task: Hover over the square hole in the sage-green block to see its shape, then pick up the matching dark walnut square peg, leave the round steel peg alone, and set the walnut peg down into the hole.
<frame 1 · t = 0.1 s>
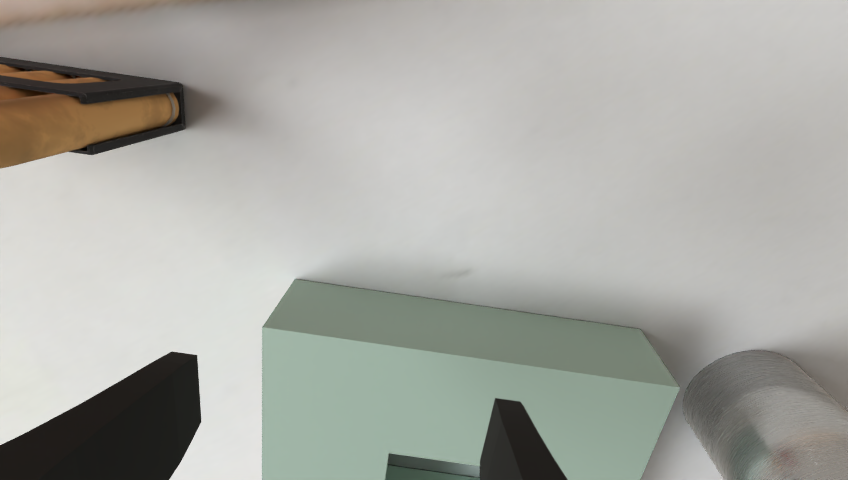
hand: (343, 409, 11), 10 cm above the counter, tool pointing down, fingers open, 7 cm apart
steel peg: (743, 398, 23), on the counter
ammunition clip: (57, 88, 19), on the counter
socket block: (441, 435, 24), on the counter
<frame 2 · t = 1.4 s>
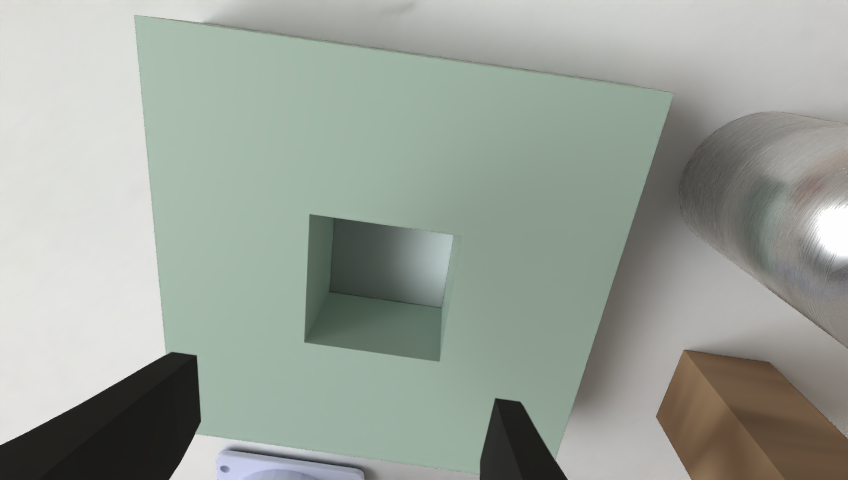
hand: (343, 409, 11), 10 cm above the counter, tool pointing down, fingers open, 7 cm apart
steel peg: (752, 184, 19), on the counter
walnut peg: (710, 390, 22), on the counter
socket block: (391, 248, 20), on the counter
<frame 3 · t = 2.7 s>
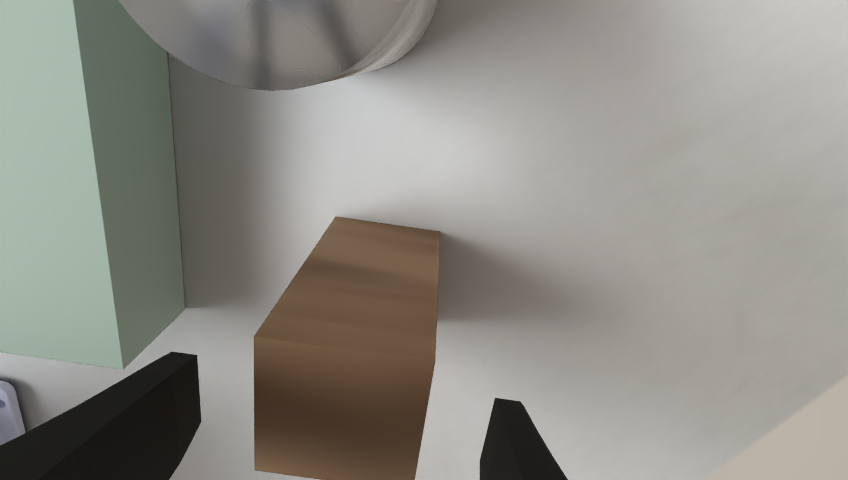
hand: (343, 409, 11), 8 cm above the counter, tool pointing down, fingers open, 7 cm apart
walnut peg: (382, 271, 18), on the counter
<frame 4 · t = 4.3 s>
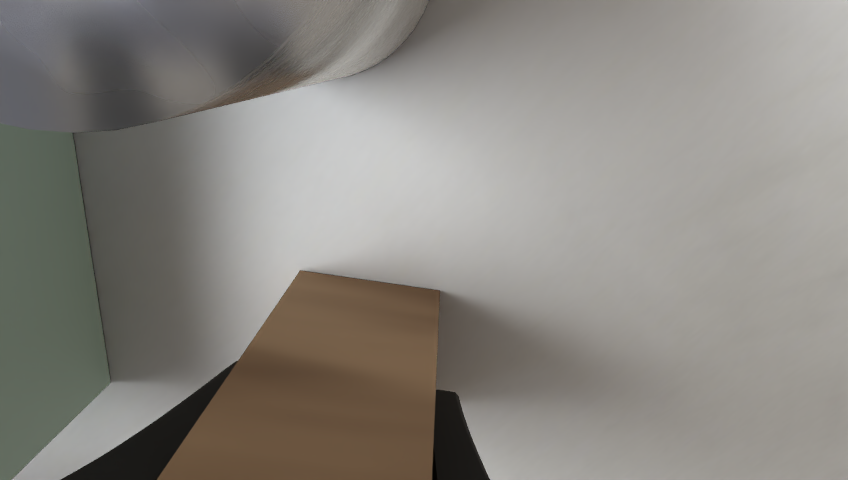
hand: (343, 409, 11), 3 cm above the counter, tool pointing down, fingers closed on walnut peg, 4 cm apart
walnut peg: (364, 339, 14), on the counter, touching gripper
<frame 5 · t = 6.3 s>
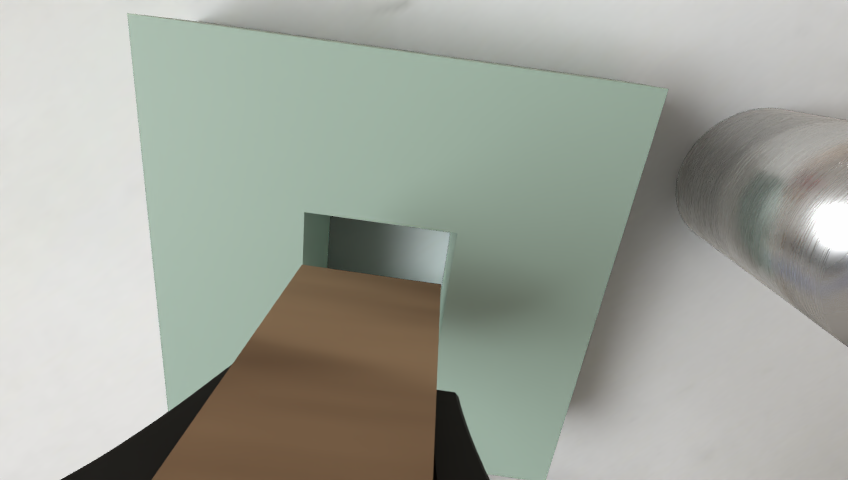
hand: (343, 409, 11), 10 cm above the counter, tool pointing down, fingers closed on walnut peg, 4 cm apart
steel peg: (749, 180, 19), on the counter
walnut peg: (365, 333, 14), point 7 cm above the counter, touching gripper
socket block: (387, 246, 20), on the counter
when the fingers open (5 cm above the counter, at t = 8.5 s): walnut peg drops 2 cm, resting in socket block.
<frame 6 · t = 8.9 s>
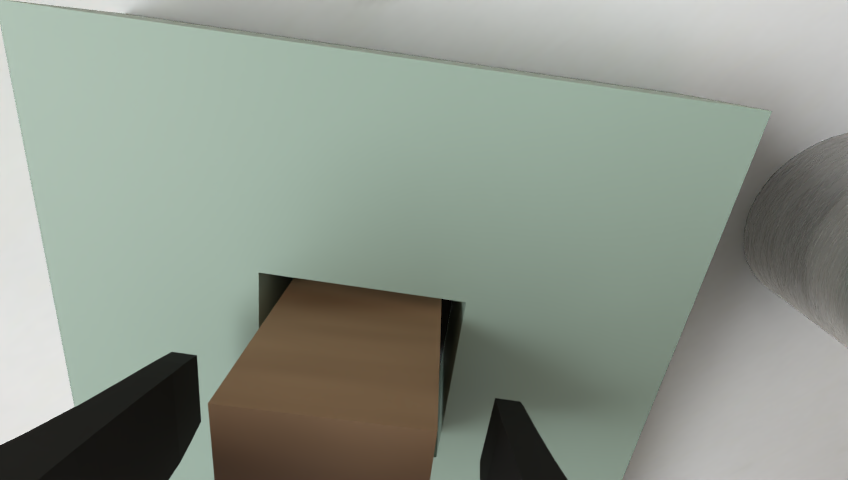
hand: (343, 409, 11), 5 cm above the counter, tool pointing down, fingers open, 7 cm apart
steel peg: (840, 222, 14), on the counter
walnut peg: (378, 294, 16), resting in socket block
socket block: (376, 299, 16), on the counter
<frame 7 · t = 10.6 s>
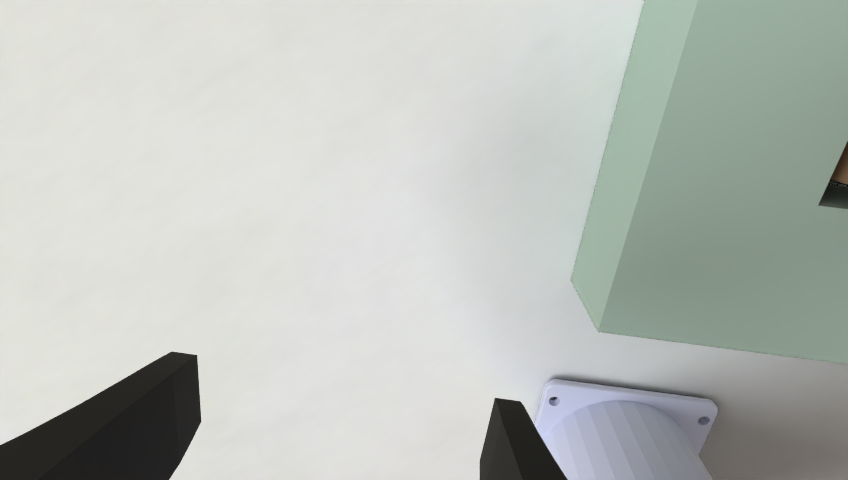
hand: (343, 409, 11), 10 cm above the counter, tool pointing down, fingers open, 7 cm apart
walnut peg: (843, 109, 17), resting in socket block
socket block: (840, 113, 17), on the counter
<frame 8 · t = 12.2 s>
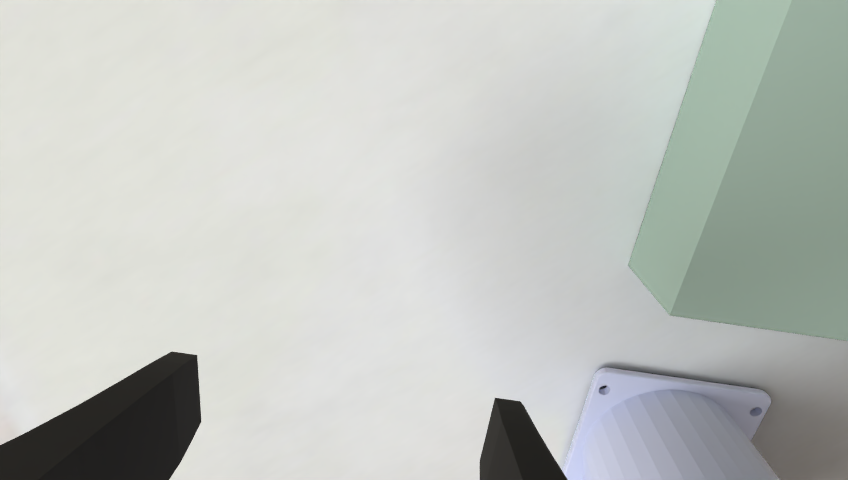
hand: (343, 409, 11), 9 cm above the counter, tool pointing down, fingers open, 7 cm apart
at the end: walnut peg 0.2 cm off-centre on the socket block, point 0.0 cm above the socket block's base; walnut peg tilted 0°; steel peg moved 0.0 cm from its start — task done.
